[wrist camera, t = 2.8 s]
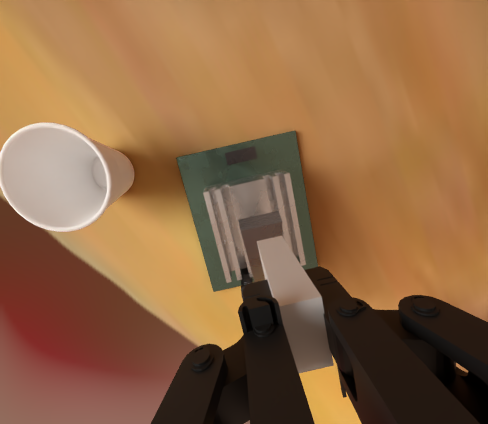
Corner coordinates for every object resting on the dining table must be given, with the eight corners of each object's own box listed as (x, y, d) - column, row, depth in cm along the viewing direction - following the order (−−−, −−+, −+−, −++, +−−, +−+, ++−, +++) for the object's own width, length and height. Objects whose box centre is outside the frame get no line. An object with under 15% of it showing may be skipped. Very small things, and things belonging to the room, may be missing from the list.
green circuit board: (177, 157, 33) (154, 157, 23) (293, 131, 33) (320, 119, 23) (213, 289, 37) (207, 336, 27) (316, 265, 37) (347, 304, 28)
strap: (235, 219, 18) (238, 232, 17) (280, 208, 18) (285, 222, 17) (254, 288, 30) (257, 298, 29) (282, 281, 30) (285, 291, 29)
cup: (160, 197, 34) (128, 215, 23) (92, 217, 34) (28, 244, 23) (133, 124, 32) (83, 107, 21) (60, 146, 32) (-26, 140, 21)
